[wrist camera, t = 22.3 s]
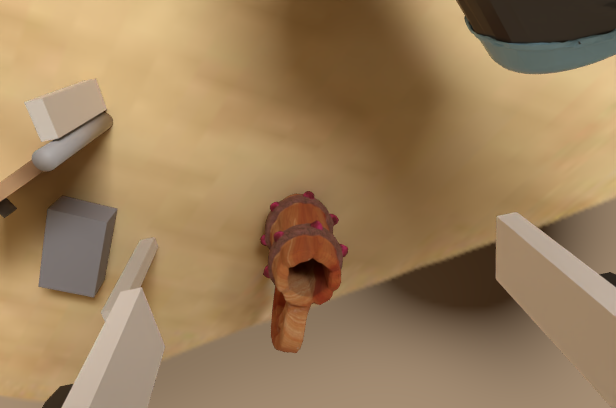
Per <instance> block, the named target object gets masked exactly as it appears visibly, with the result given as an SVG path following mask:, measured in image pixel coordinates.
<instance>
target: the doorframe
mask: <svg viewBox="0 0 616 408" xmlns="http://www.w3.org/2000/svg"><path fill="white" fill-rule="evenodd" d="M24 103H25V105H26V108H27V110H28V112H29V115H30V117H31V119H32V121H33V124H34V126H35V128H36V131H37V133H38V135H39V137H40V140H41V142H42V141H47V140H53V139H55V140H53V141H51V142H50V143H48V144H46V145H45V146H43V147H41V148H40V149H38V150H36V151H35V152H34V153H33V155H32V162H33V164H34V165H35V167H37V168H38V169H39V170H42V171H51V170H53V169H55V168H56V167H57V166H59V165H60V164H61V163H63V162H64V161H65V160H67V159H68V158H70V157H71V156H72V155H74V154H75V153H76V152H78V151H79V150H80V149H82V148H83V147H84V146H86V145H87V144H89V143H90V142H91V141H93V140H94V139H95V138H97V137H98V136H99V135H101V134H102V133H104V132H105V131H106V130H108V129H109V128H110V127H111V126H112V125H113V119H112V117H111V116H110V115H109V114H107V113H105V112H103V111H105V110H107V108H106V105H105V103H104V100H103V97H102V94H101V92H100V89H99V86H98V83H97V81H96V79H91V80H86V81H81V82H79V83H76V84H73V85H70V86H67V87H65V88H62V89H59V90H56V91H54V92H51V93H48V94H45V95H42V96H40V97H37V98H34V99H31V100H28V101H26V102H24ZM157 249H158V245H157V242H156V239H155V237H152V238H147V239H142V240H140V241H139V243H138V244H137V246H136V248H135V250H134V252H133V254H132V256H131V257H130V259H129V261H128V263H127V265H126V267H125V269H124V270H123V272H122V274H121V276H120V278H119V280H118V281H117V283H116V285H115V287H114V289H113V291H112V293H111V294H110V296H109V298H108V300H107V302H106V304H105V306H104V307H103V309H102V311H101V314H102V316H103V318H104V321H106V319H107V317H108V315H109V314H110V312H111V310H112V308H113V306H114V304H115V302H116V300H117V298H118V296H119V294H120V292H121V291H126V290H131V289H136V288H140V287H141V285H142V283H143V280H144V278H145V276H146V274H147V271H148V269H149V267H150V265H151V262H152V260H153V258H154V256H155V253H156V251H157Z"/></svg>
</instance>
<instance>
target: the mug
mask: <svg viewBox="0 0 616 408" xmlns="http://www.w3.org/2000/svg"><path fill="white" fill-rule="evenodd" d="M270 209H271V211H270V213H269V215H268V217H267V220H266V225H265V234H264V235H263V236H262V237H261V243H262V244H263V245H265V246H268V248H269V250H270V252H269V256H268V265H267V266H266V267H265V269H264V273H263V275H264V276H266V277H267V278H271V280H272V281H273V283H274V285H275V293H274V301H273V310H272V323H271V338H272V343H273V345H274V347H275V349H276V350H280V351H283V352H293V353H297V351H298V350H299V349H300V347H301V345H302V342H303V337H304V331H305V325H306V318H307V314H308V312H309V309H310V306H311V304H312V303H315V304H319V305H321V304H322V303H324V302H326V301H328V300H330V298H331V297H332V295H333V291H334V290H337V289H338V288H339V286H340V283H341V268H342V262H343V257H345V256H346V254H347V253H348V248H347V247H346V246H344V245H343V244H339V243H338V241H337V240H336V238H335V237H334V235H333V226H334V225H336V224H337V223H338V221H339V219H338V218H337V216H335V215H334V214H329V212H328V211H327V209H326V207H325V206H324V205H323V204H322V203H321V202H320V201H318V200H317V199H315V198H314V194H313V193H312V192H310V191H307V192H305V193H304V194H293V195H290V196H288V197H286V198H285V199H283V200H282V201H280V202H274V203H273V204H271V206H270Z"/></svg>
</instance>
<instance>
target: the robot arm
mask: <svg viewBox="0 0 616 408" xmlns="http://www.w3.org/2000/svg"><path fill="white" fill-rule="evenodd" d="M456 1H457V3H458V4H459V6H460V8H461V9H462V11H463V13H464V15H465V22H466V25H467V27H468V29H469V30H470V31H471V33H473V34H474V35H475V36H476V37H477V38H478V39H479V40H480V41H481V43H482V44H483V46H484V47H485V49H486V50H487V52H488V54H489V55H490V56H491V58H492V59H493V60H494V61H495V62H497V63H498V64H499V65H501V66H502V67H503V68H506V69H508V70H510V71H514V72H518V73H524V74H548V73H556V72H562V71H567V70H572V69H576V68H579V67H583V66H586V65H590V64H593V63H596V62H598V61H601V60H604V59H606V58H608V57H611V56H613V55H615V54H616V0H456ZM496 280H497V281H498V282H499V283H500V284H501V285H502V286H503V288H504V289H505V290H506V291H507V292H508V293H509V294H510V295H511V296H512V298H513V299H514V300H515V301H516V302H517V303H518V304H519V305H520V306H521V307H522V309H523V310H524V311H525V312H526V313H527V314H528V315H529V316H530V318H531V319H532V320H533V321H534V322H535V323H536V324H537V325H538V326H539V328H540V329H541V330H542V331H543V332H544V333H545V334H546V335H547V336H548V338H549V339H550V340H551V341H552V342H553V343H554V344H555V345H556V346H557V347H558V349H559V350H560V351H561V352H562V353H563V354H564V355H565V357H566V358H567V359H568V360H569V361H570V362H571V363H572V364H573V365H574V366H575V368H576V369H577V370H578V371H579V372H580V373H581V374H582V375H583V377H584V378H585V379H586V380H587V381H588V382H589V383H590V384H591V385H592V387H593V388H594V389H595V390H596V391H597V392H598V393H599V394H600V395H601V397H602V398H603V399H604V400H605V401H606V402H607V403H608V404H609V405H610V407H611V408H616V274H613V273H611V272H609V273H605V274H598V273H596V272H595V271H594V270H592V269H591V268H590V267H588V266H587V265H586V264H584V263H583V262H582V261H580V260H579V259H578V258H576V257H575V256H574V255H572V254H571V253H570V252H569V251H567V250H566V249H565V248H563V247H562V246H561V245H559V244H558V243H557V242H555V241H554V240H553V239H551V238H550V237H549V236H547V235H546V234H545V233H544V232H542V231H541V230H540V229H538V228H537V227H536V226H535V225H533V224H532V223H531V222H529V221H528V220H527V219H525V218H524V217H523V216H521V215H520V214H519V213H517V212H514V213H509V214H504V215H499V216H496ZM164 349H165V345H164V342H163V339H162V337H161V334H160V332H159V329H158V327H157V324H156V322H155V319H154V317H153V314H152V312H151V309H150V306H149V304H148V301H147V299H146V296H145V294H144V291H143V289H142V287H141V288H136V289H131V290H126V291H121V292H120V294H119V296H118V298H117V300H116V302H115V304H114V306H113V308H112V310H111V312H110V314H109V315H108V317H107V319H106V321H105V323H104V325H103V327H102V329H101V331H100V333H99V335H98V337H97V339H96V341H95V343H94V345H93V347H92V349H91V351H90V353H89V355H88V357H87V359H86V361H85V363H84V365H83V367H82V369H81V370H80V372H79V374H78V376H77V378H76V380H75V382H74V384H70V385H65V386H60V387H59V388H58V389H57V390H56V391H55V393H54V394H53V395H52V396H51V397H50V398H49V399H48V400H47V401H46V402H45V404H44V405H43V407H42V408H148V405H149V401H150V398H151V394H152V391H153V387H154V384H155V380H156V377H157V373H158V370H159V366H160V363H161V360H162V356H163V353H164Z"/></svg>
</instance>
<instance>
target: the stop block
mask: <svg viewBox="0 0 616 408" xmlns="http://www.w3.org/2000/svg"><path fill="white" fill-rule="evenodd" d="M116 214H117V209H116V208H112V207H108V206H104V205H100V204H95V203H91V202H87V201H83V200H79V199H74V198H70V197H66V196H61V197H60V198H59V199H58V200H57V201H56V202H55V203H54V204H53V205H51V206H50V207H49V208H48V210H47V218H46V227H45V235H44V244H43V252H42V261H41V269H40V278H39V287H43V288H48V289H53V290H58V291H63V292H69V293H74V294H79V295H84V296H89V297H95V295H96V293H97V292H98V290H99V288H100V287H101V285H102V283H103V282H104V280H105V275H106V269H107V264H108V258H109V253H110V247H111V242H112V236H113V230H114V225H115V219H116Z"/></svg>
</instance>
